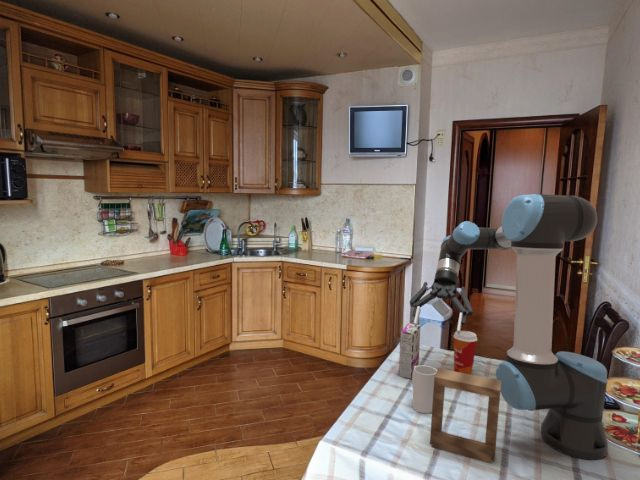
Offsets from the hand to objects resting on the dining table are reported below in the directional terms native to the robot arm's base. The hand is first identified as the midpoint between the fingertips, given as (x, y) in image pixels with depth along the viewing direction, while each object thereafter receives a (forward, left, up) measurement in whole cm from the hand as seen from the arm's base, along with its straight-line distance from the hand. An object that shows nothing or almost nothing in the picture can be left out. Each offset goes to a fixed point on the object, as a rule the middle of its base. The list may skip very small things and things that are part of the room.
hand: (436, 328), depth 135 cm
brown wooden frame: (-12, +28, -21) cm, 37 cm away
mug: (+1, +12, -21) cm, 24 cm away
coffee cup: (-8, -18, -21) cm, 29 cm away
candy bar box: (+10, -10, -21) cm, 26 cm away
